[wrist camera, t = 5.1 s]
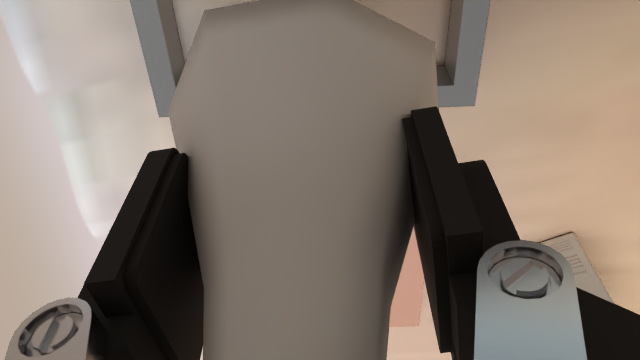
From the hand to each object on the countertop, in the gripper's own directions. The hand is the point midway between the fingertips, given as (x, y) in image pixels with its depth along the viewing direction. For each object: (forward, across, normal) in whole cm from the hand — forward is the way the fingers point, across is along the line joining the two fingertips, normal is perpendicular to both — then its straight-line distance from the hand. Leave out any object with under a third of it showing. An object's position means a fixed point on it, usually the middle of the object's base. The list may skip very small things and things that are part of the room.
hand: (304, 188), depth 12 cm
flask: (+3, 0, 0) cm, 3 cm away
